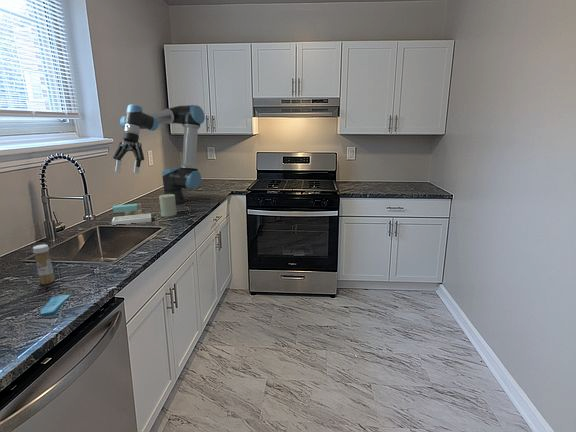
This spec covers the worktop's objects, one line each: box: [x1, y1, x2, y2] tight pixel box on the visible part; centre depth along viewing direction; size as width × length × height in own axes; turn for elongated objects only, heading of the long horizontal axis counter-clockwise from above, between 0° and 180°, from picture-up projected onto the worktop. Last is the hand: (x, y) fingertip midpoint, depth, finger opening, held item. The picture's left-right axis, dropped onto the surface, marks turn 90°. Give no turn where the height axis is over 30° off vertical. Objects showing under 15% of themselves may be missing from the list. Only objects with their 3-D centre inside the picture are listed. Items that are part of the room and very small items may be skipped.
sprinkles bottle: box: [32, 244, 56, 285], centre depth 130 cm, size 5×5×13 cm
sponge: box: [39, 294, 71, 317], centre depth 115 cm, size 2×12×6 cm
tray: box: [111, 213, 152, 226], centre depth 208 cm, size 20×10×2 cm, turn 110°
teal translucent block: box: [124, 203, 143, 216], centre depth 216 cm, size 9×4×8 cm, turn 110°
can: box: [158, 194, 178, 217], centre depth 220 cm, size 9×9×12 cm
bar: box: [112, 203, 139, 214], centre depth 215 cm, size 13×5×3 cm, turn 110°
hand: (126, 172), depth 199 cm, fingers open, 13 cm apart
